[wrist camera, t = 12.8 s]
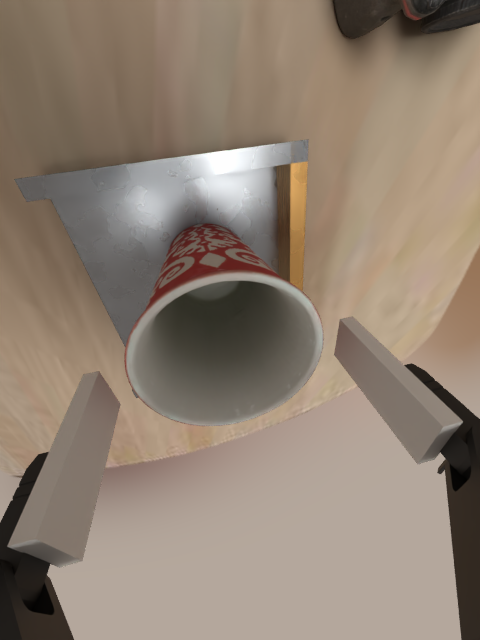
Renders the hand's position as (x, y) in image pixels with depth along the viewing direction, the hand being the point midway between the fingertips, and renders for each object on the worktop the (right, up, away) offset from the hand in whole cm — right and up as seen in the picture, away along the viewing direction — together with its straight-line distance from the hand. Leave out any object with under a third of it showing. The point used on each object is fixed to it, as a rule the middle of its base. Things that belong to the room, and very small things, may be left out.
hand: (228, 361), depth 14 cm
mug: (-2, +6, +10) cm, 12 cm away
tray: (-3, +6, +10) cm, 13 cm away
